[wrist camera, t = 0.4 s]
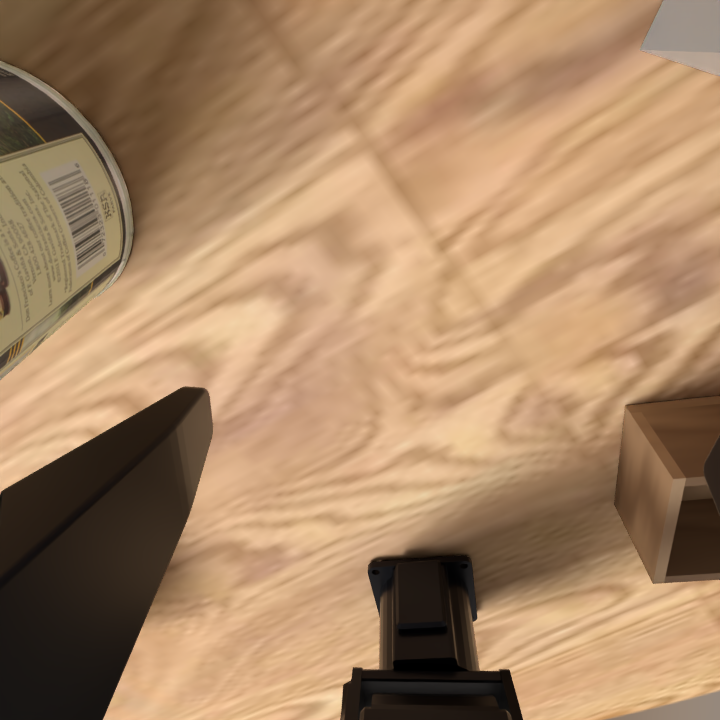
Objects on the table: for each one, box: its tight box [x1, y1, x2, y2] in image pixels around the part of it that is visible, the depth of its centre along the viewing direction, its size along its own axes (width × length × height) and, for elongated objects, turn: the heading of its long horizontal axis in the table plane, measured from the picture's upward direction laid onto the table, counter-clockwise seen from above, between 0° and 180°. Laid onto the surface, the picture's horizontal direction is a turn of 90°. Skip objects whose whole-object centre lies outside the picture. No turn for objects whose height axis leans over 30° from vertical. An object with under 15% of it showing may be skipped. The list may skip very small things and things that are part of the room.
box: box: [614, 396, 720, 584], centre depth 24 cm, size 7×7×5 cm
